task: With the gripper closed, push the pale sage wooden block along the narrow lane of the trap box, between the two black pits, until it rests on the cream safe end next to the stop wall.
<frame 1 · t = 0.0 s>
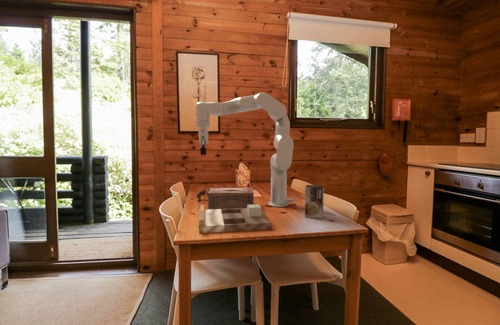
hand: (203, 154, 161), 31 cm above the table, tool pointing down, fingers open, 9 cm apart
trap box: (232, 221, 137), on the table
tissue box cover: (231, 207, 166), on the table
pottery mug: (205, 200, 183), on the table
coffee box: (314, 216, 146), on the table
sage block: (253, 214, 138), point 3 cm above the table, touching trap box
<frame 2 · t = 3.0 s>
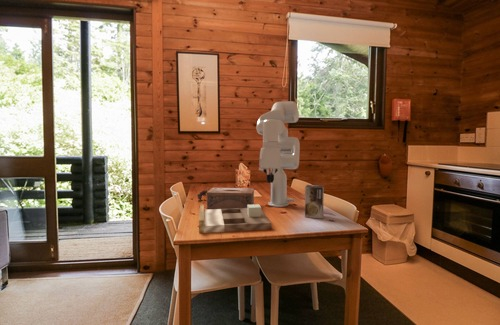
hand: (270, 182, 138), 19 cm above the table, tool pointing down, fingers closed
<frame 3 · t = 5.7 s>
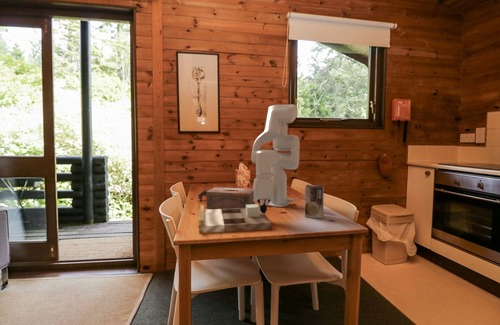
hand: (263, 212, 138), 4 cm above the table, tool pointing down, fingers closed
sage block: (252, 214, 138), point 3 cm above the table, touching gripper, trap box
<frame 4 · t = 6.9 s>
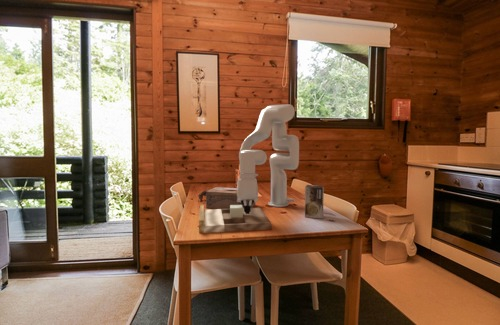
hand: (247, 213, 137), 4 cm above the table, tool pointing down, fingers closed
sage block: (236, 215, 137), point 3 cm above the table, touching gripper, trap box
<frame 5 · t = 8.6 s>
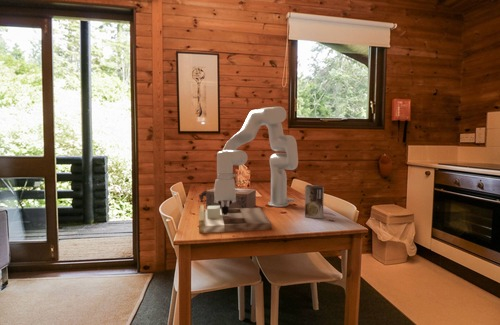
hand: (225, 214, 135), 4 cm above the table, tool pointing down, fingers closed
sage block: (213, 216, 135), point 3 cm above the table
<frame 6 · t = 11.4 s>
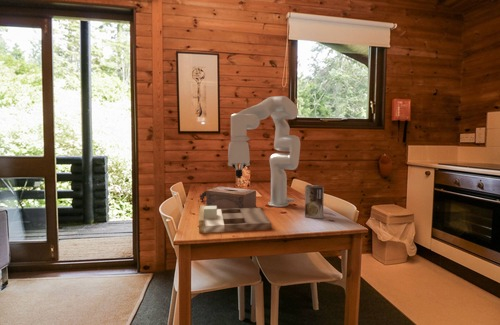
hand: (239, 177, 135), 22 cm above the table, tool pointing down, fingers closed
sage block: (210, 216, 135), point 3 cm above the table, touching trap box
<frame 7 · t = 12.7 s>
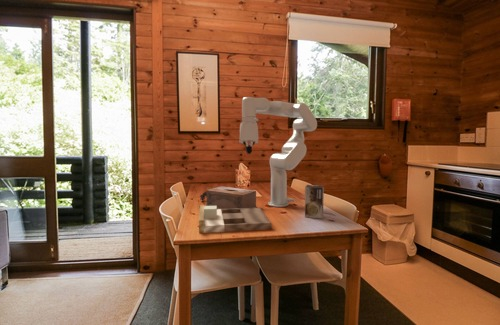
hand: (248, 153, 155), 32 cm above the table, tool pointing down, fingers closed
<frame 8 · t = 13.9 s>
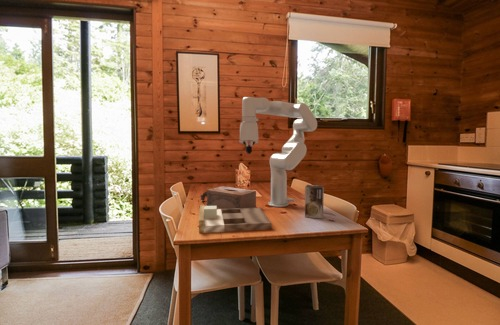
hand: (248, 153, 155), 32 cm above the table, tool pointing down, fingers closed
at the end: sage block inside the target area on the trap box (1.2 cm from its centre), point 3.0 cm above the trap box's base; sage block tilted 0°; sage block moved 21.3 cm from its start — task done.
